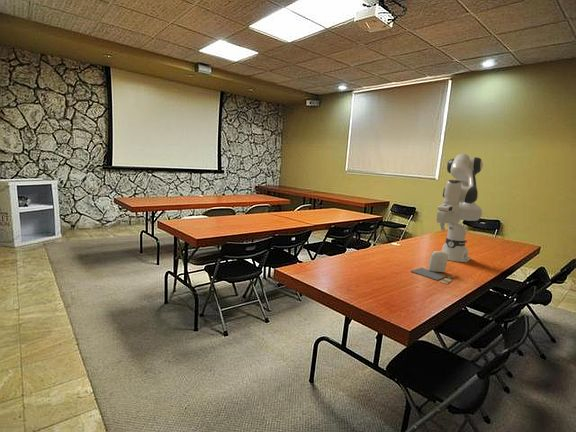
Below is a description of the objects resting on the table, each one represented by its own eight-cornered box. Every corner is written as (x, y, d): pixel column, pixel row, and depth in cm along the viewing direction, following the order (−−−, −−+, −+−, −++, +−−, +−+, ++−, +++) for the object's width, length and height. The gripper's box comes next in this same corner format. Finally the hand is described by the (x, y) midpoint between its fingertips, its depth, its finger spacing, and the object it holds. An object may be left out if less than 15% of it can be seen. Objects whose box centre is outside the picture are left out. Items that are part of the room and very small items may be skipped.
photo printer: (441, 270, 198) (444, 250, 197) (446, 272, 194) (450, 252, 192) (426, 269, 196) (430, 249, 194) (431, 271, 191) (435, 251, 190)
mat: (421, 268, 199) (421, 267, 199) (447, 276, 187) (447, 275, 187) (410, 271, 192) (410, 270, 192) (436, 280, 179) (437, 279, 179)
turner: (448, 276, 189) (449, 274, 189) (455, 277, 186) (455, 276, 186) (440, 282, 177) (440, 281, 177) (447, 284, 175) (447, 283, 174)
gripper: (454, 206, 202) (450, 228, 204) (436, 206, 190) (432, 229, 192) (464, 207, 197) (460, 230, 199) (446, 208, 185) (442, 232, 187)
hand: (446, 230), depth 195 cm, fingers open, 8 cm apart
